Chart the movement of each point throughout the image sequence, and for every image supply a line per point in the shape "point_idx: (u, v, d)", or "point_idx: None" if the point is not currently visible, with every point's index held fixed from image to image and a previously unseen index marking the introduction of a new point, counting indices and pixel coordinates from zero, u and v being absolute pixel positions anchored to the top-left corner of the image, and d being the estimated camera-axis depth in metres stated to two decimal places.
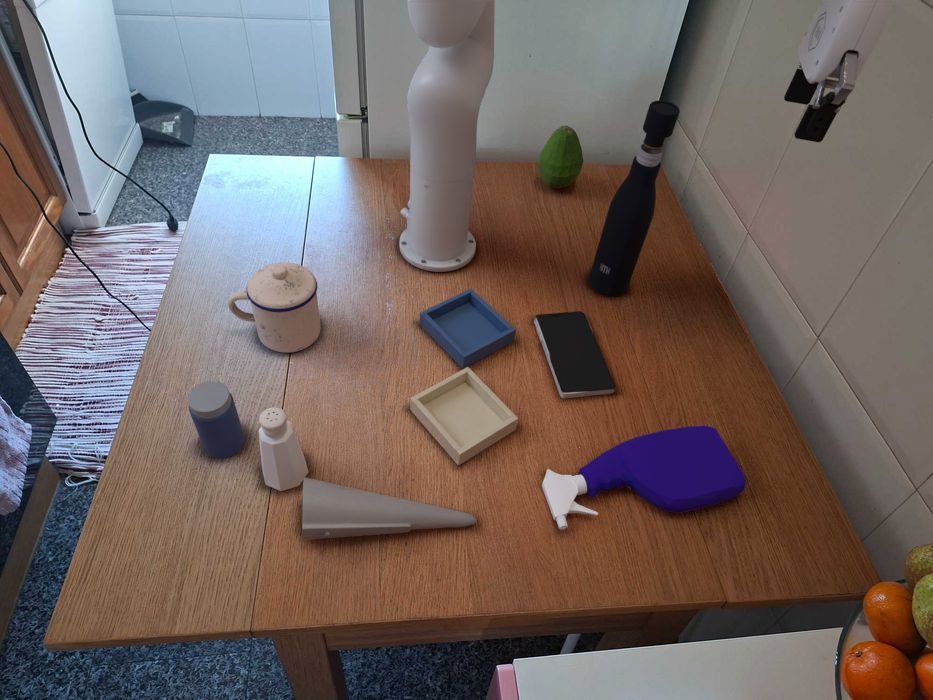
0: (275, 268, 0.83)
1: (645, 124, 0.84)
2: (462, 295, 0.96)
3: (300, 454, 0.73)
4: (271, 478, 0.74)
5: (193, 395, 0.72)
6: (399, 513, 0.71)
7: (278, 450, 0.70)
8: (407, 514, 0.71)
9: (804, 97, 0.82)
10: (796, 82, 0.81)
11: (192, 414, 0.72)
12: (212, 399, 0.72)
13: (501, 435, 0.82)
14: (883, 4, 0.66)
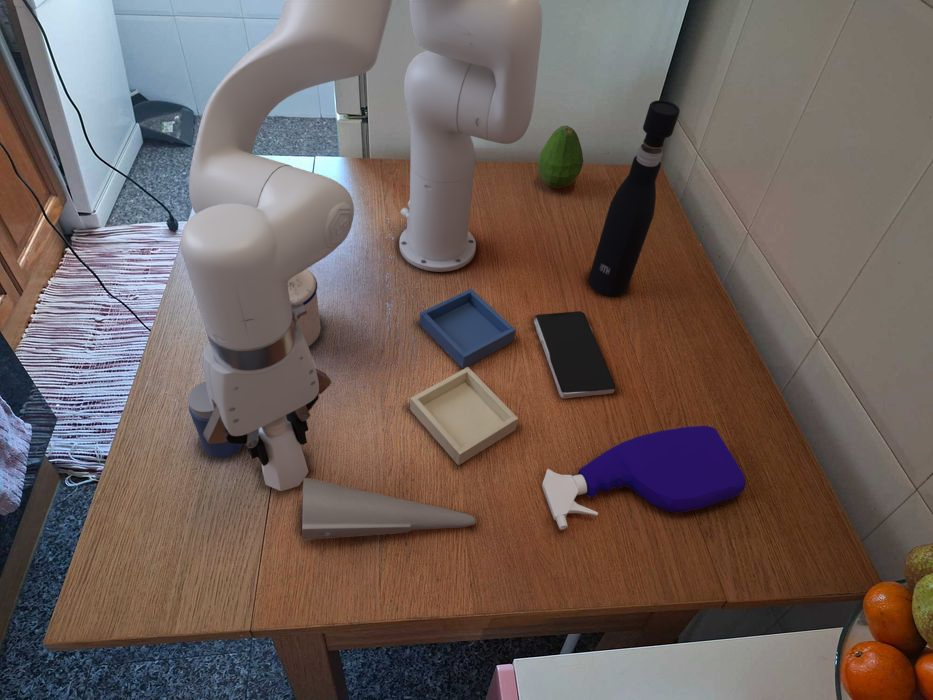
0: None
1: (645, 124, 0.84)
2: (462, 295, 0.96)
3: (300, 454, 0.73)
4: (271, 478, 0.74)
5: (193, 395, 0.72)
6: (399, 513, 0.71)
7: (278, 450, 0.70)
8: (407, 514, 0.71)
9: (296, 436, 0.72)
10: (287, 417, 0.72)
11: (192, 414, 0.72)
12: None
13: (501, 435, 0.82)
14: (216, 373, 0.58)
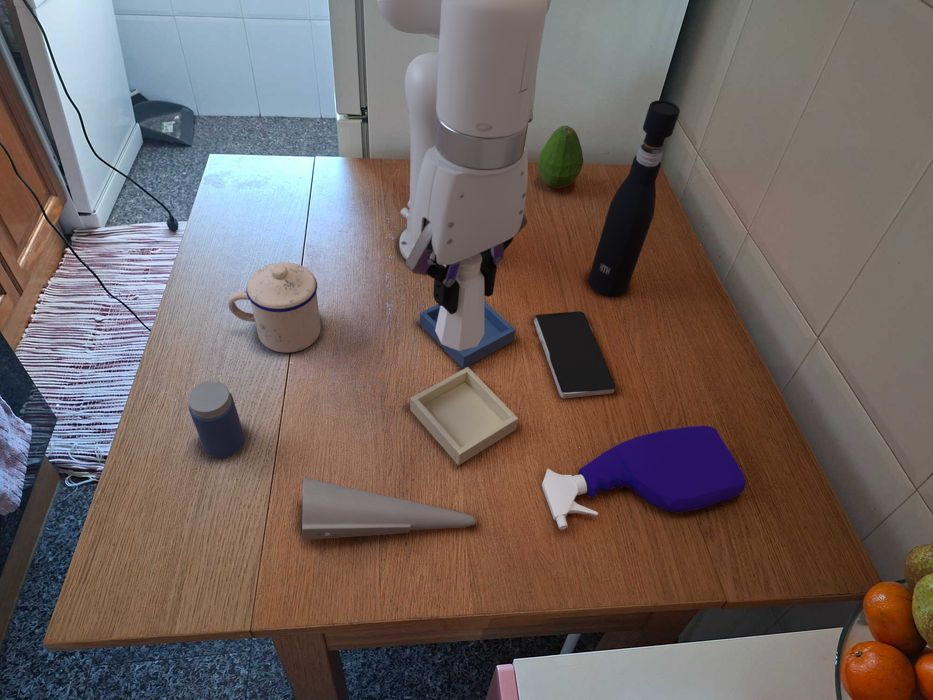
0: (275, 268, 0.83)
1: (645, 124, 0.84)
2: None
3: (483, 308, 0.68)
4: (451, 334, 0.68)
5: (193, 395, 0.72)
6: (399, 513, 0.71)
7: (469, 297, 0.64)
8: (407, 515, 0.71)
9: None
10: None
11: (192, 414, 0.72)
12: (212, 399, 0.72)
13: (501, 435, 0.82)
14: (443, 177, 0.53)
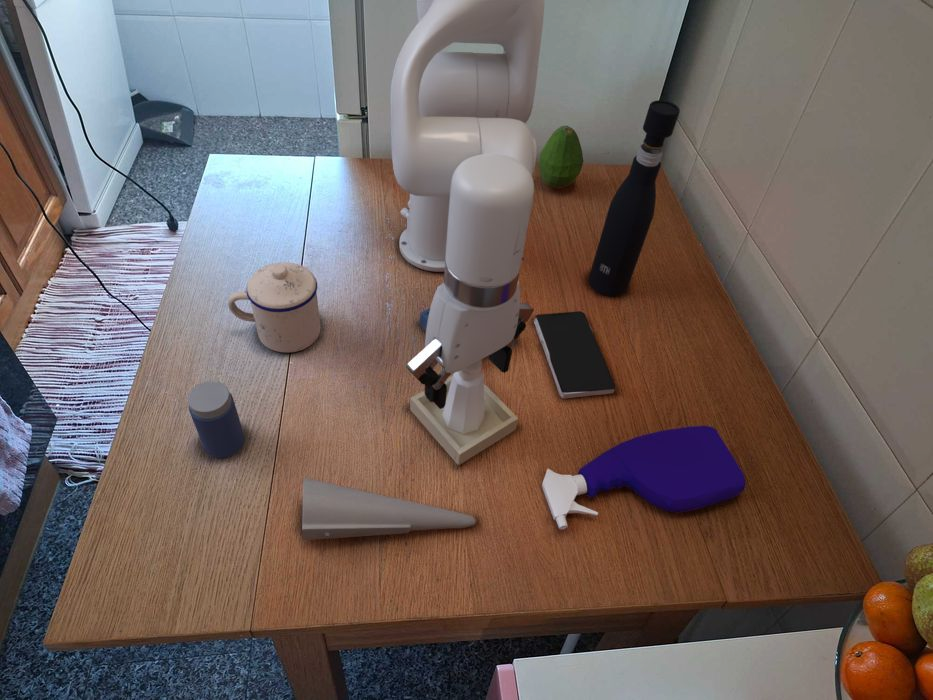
0: (275, 268, 0.83)
1: (645, 124, 0.84)
2: None
3: (483, 399, 0.80)
4: (456, 421, 0.80)
5: (193, 395, 0.72)
6: (399, 513, 0.71)
7: (471, 393, 0.77)
8: (407, 515, 0.71)
9: (499, 364, 0.79)
10: None
11: (192, 414, 0.72)
12: (212, 399, 0.72)
13: (501, 435, 0.82)
14: (451, 311, 0.65)
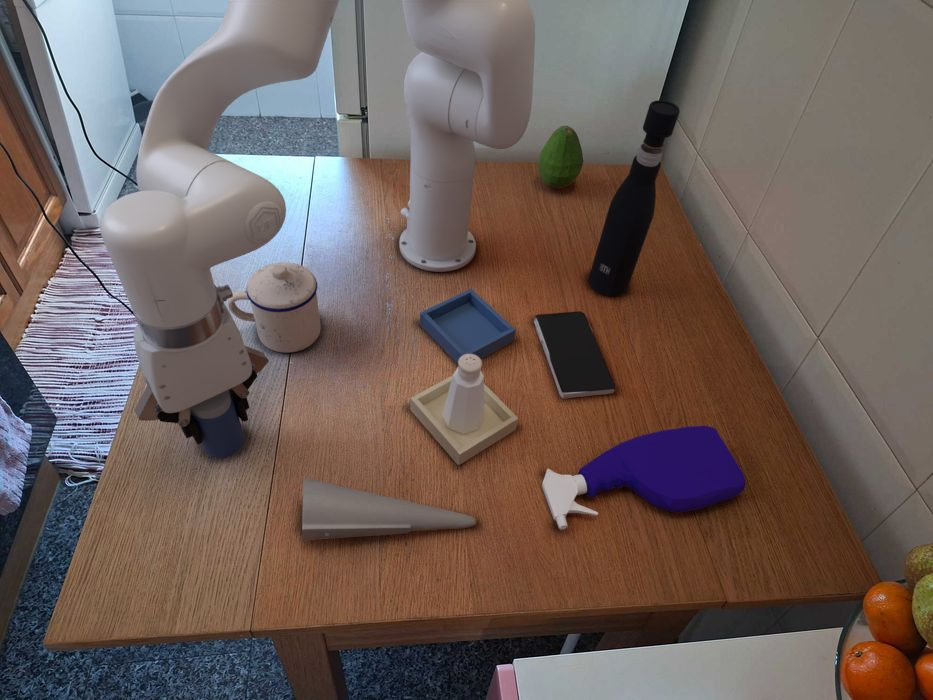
0: (275, 268, 0.83)
1: (645, 124, 0.84)
2: (462, 295, 0.96)
3: (483, 399, 0.80)
4: (456, 421, 0.80)
5: None
6: (399, 514, 0.71)
7: (471, 393, 0.77)
8: (407, 515, 0.71)
9: (238, 413, 0.76)
10: None
11: (192, 414, 0.72)
12: (212, 399, 0.72)
13: (501, 435, 0.82)
14: (145, 352, 0.62)
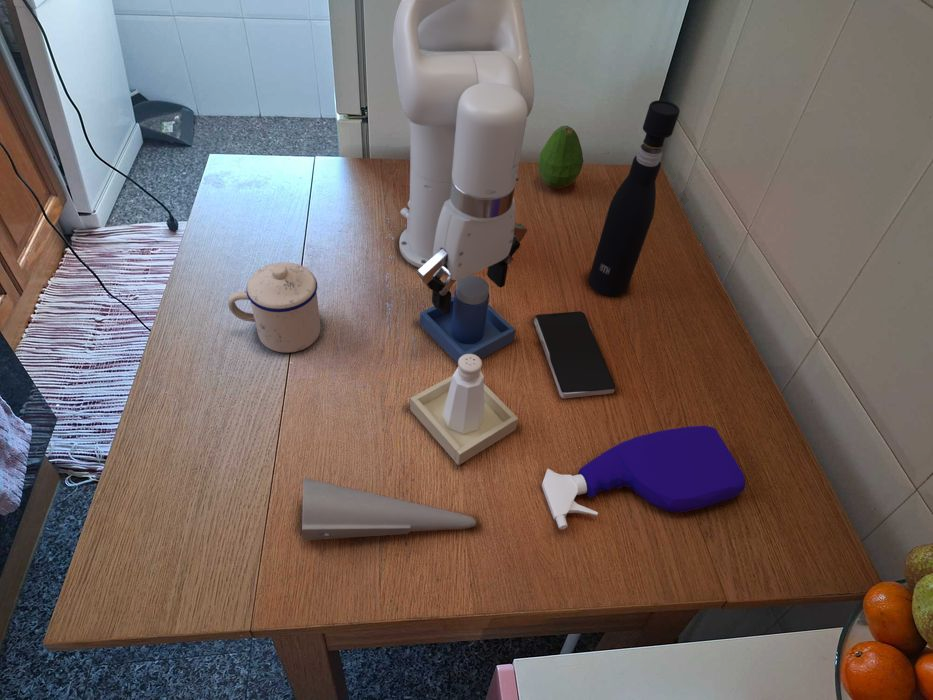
0: (275, 268, 0.83)
1: (645, 124, 0.84)
2: None
3: (483, 399, 0.80)
4: (456, 421, 0.80)
5: (460, 285, 0.87)
6: (399, 514, 0.71)
7: (471, 393, 0.77)
8: (407, 516, 0.71)
9: (496, 279, 0.91)
10: None
11: (460, 301, 0.87)
12: (477, 288, 0.87)
13: (501, 435, 0.82)
14: (456, 222, 0.76)
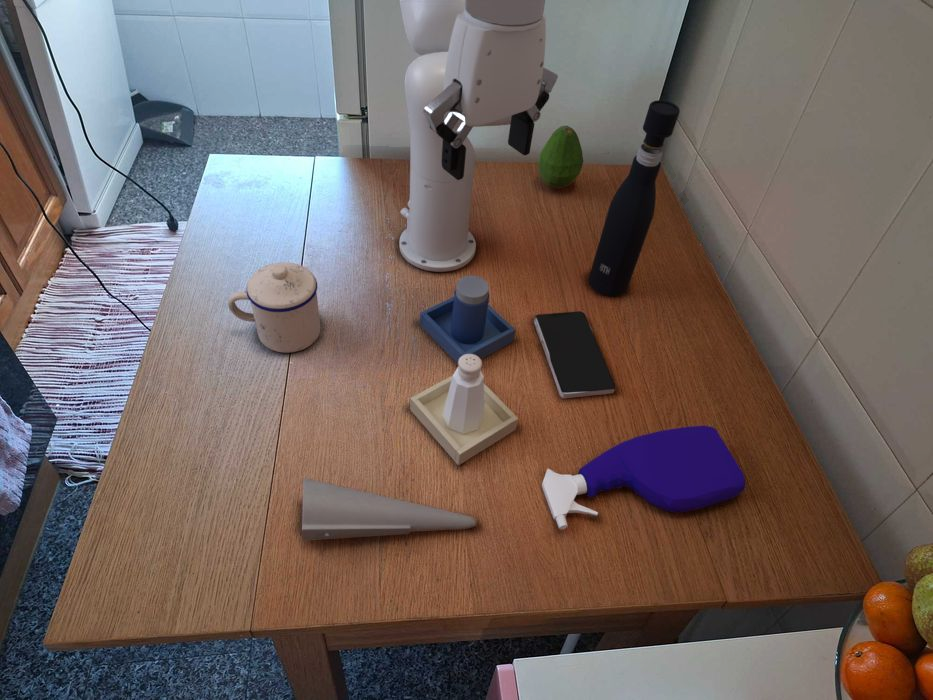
0: (275, 268, 0.83)
1: (645, 124, 0.84)
2: None
3: (483, 399, 0.80)
4: (456, 421, 0.80)
5: (460, 285, 0.87)
6: (399, 514, 0.71)
7: (471, 393, 0.77)
8: (407, 516, 0.71)
9: (520, 145, 0.74)
10: (512, 125, 0.74)
11: (460, 301, 0.87)
12: (477, 288, 0.87)
13: (501, 435, 0.82)
14: (473, 35, 0.60)
